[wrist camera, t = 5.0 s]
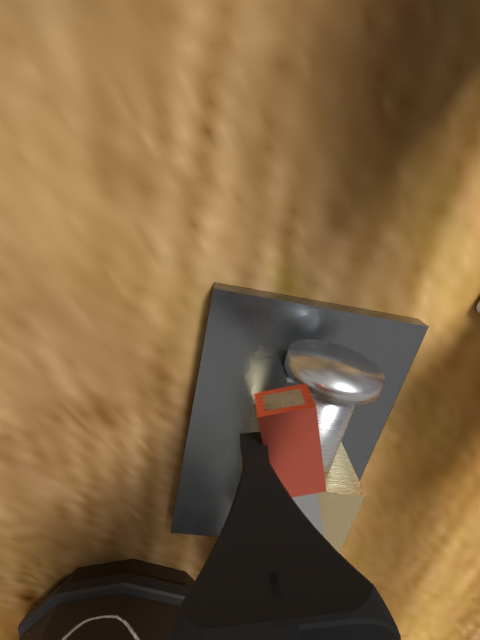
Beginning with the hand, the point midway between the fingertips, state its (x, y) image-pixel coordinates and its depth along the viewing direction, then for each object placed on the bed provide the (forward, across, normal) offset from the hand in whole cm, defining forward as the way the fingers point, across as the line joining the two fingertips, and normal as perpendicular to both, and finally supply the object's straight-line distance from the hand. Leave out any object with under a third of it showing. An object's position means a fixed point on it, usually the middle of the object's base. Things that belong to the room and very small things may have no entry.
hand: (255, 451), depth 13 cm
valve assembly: (+9, -2, +7) cm, 11 cm away
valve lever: (0, -2, +3) cm, 3 cm away
